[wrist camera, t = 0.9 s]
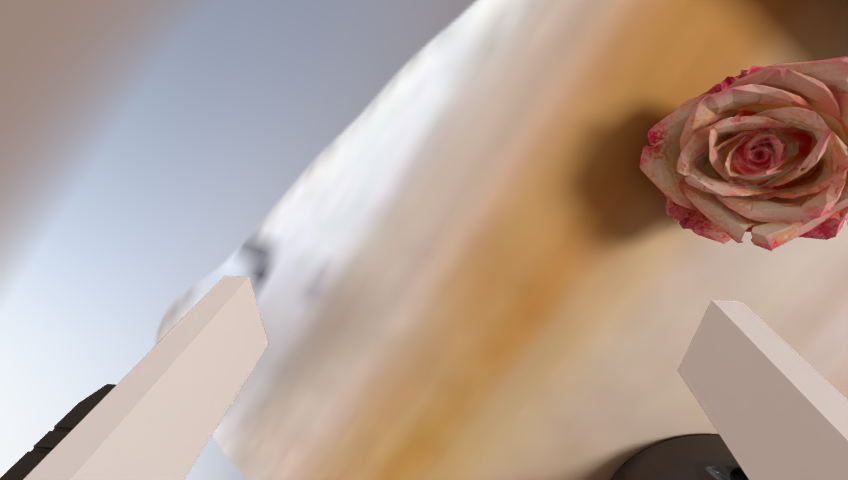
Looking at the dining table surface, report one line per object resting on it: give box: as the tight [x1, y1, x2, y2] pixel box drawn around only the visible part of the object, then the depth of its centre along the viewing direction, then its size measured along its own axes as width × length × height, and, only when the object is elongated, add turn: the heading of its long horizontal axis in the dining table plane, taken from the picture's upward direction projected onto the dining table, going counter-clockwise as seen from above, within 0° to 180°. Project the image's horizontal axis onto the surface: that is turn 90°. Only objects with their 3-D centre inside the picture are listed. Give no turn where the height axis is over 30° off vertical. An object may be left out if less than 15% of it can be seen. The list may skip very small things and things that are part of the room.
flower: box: [640, 56, 848, 251], centre depth 20 cm, size 10×9×8 cm
